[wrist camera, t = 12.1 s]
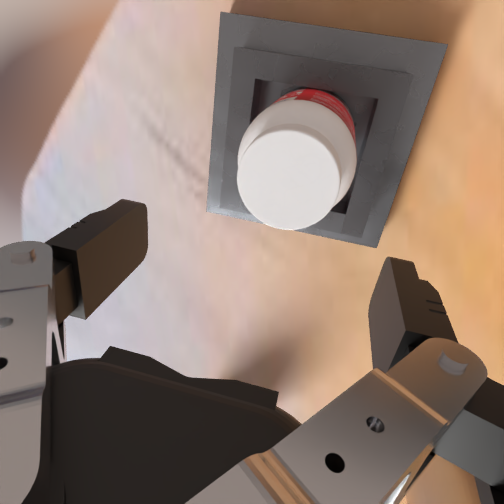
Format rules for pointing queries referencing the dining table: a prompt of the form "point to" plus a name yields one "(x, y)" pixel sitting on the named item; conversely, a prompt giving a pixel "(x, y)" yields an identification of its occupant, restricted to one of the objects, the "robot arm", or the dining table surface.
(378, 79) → the block
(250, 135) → the pill bottle
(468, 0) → the dining table surface
